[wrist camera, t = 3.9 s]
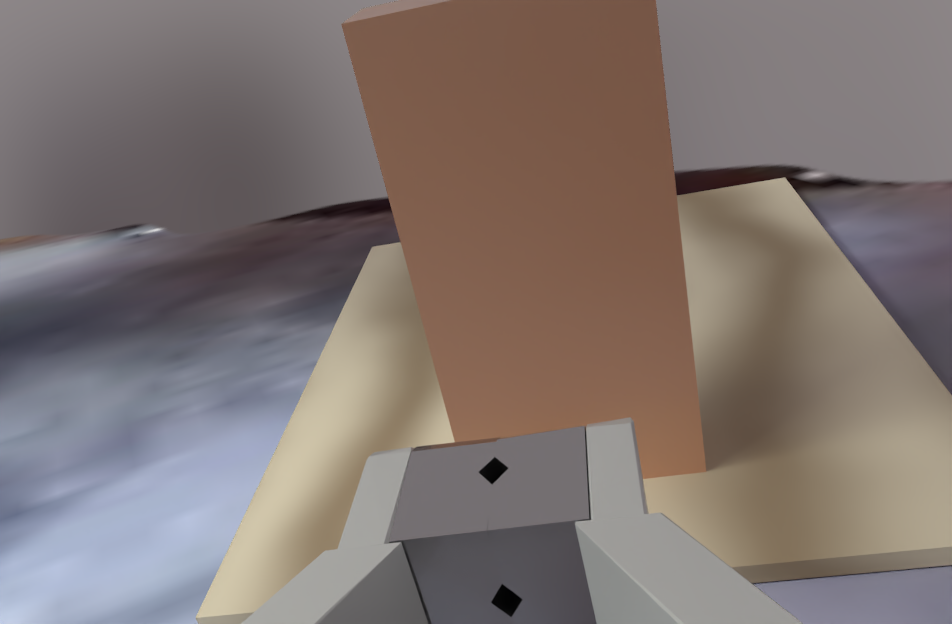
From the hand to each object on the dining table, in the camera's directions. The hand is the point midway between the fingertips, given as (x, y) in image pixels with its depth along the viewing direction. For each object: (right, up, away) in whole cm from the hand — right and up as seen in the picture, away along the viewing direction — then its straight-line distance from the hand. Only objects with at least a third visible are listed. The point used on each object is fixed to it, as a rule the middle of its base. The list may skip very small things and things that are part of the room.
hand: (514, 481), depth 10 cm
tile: (+3, -3, +16) cm, 17 cm away
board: (+4, +1, +24) cm, 24 cm away
